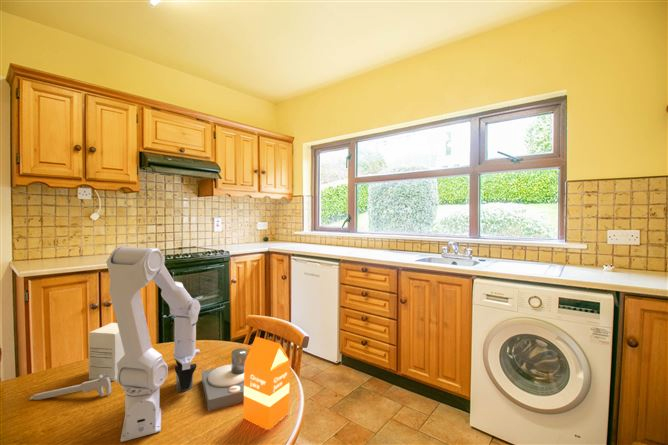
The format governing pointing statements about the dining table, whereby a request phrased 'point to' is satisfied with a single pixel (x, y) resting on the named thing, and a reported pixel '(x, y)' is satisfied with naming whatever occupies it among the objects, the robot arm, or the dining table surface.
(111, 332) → the supplement box
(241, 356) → the steel weight
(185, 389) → the steel weight
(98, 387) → the caliper
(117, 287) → the robot arm
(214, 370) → the kitchen scale
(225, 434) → the dining table surface
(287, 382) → the orange juice
